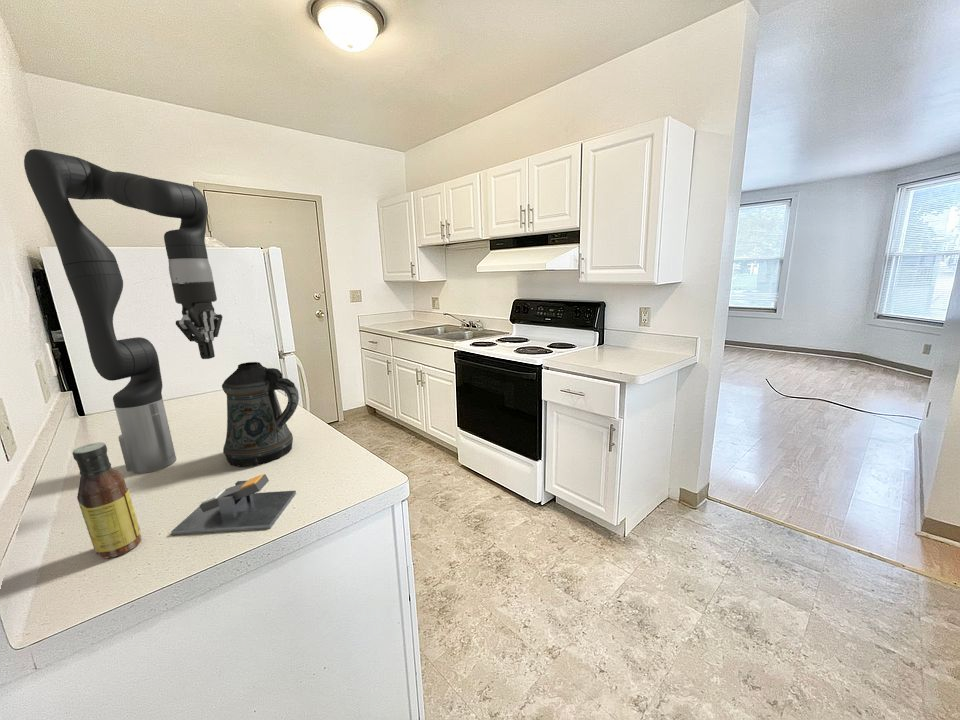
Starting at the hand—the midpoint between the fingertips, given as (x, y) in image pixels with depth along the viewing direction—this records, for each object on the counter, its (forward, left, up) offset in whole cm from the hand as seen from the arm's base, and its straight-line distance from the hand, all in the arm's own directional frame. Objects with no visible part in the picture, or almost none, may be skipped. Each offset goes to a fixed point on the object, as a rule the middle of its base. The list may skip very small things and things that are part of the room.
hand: (208, 358), depth 90 cm
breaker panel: (+11, -17, -29) cm, 35 cm away
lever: (+11, -17, -24) cm, 32 cm away
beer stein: (+3, +12, -29) cm, 32 cm away
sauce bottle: (-5, -26, -29) cm, 39 cm away
